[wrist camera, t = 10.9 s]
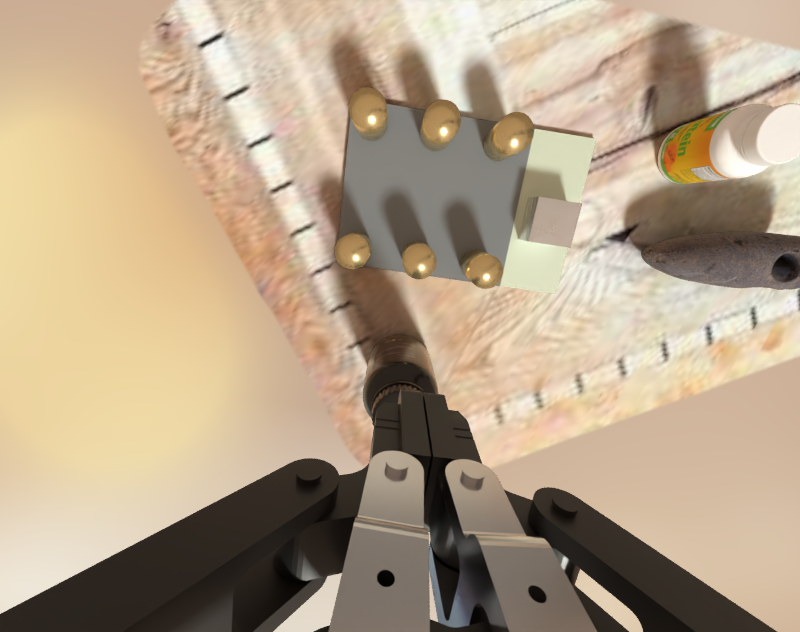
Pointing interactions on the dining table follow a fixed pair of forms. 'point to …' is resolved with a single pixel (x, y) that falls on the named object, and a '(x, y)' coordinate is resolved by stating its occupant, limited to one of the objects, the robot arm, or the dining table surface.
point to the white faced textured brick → (549, 221)
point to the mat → (459, 197)
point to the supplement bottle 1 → (396, 372)
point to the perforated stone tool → (730, 259)
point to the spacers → (435, 136)
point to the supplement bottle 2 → (731, 144)
